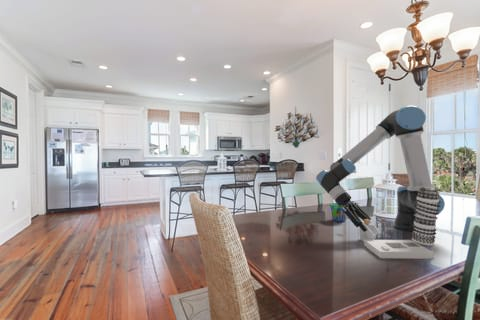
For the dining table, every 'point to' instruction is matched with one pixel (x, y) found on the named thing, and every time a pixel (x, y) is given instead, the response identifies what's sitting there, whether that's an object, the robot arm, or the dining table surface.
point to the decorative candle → (425, 216)
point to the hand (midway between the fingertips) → (375, 235)
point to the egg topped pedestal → (362, 234)
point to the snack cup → (337, 212)
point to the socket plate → (398, 249)
